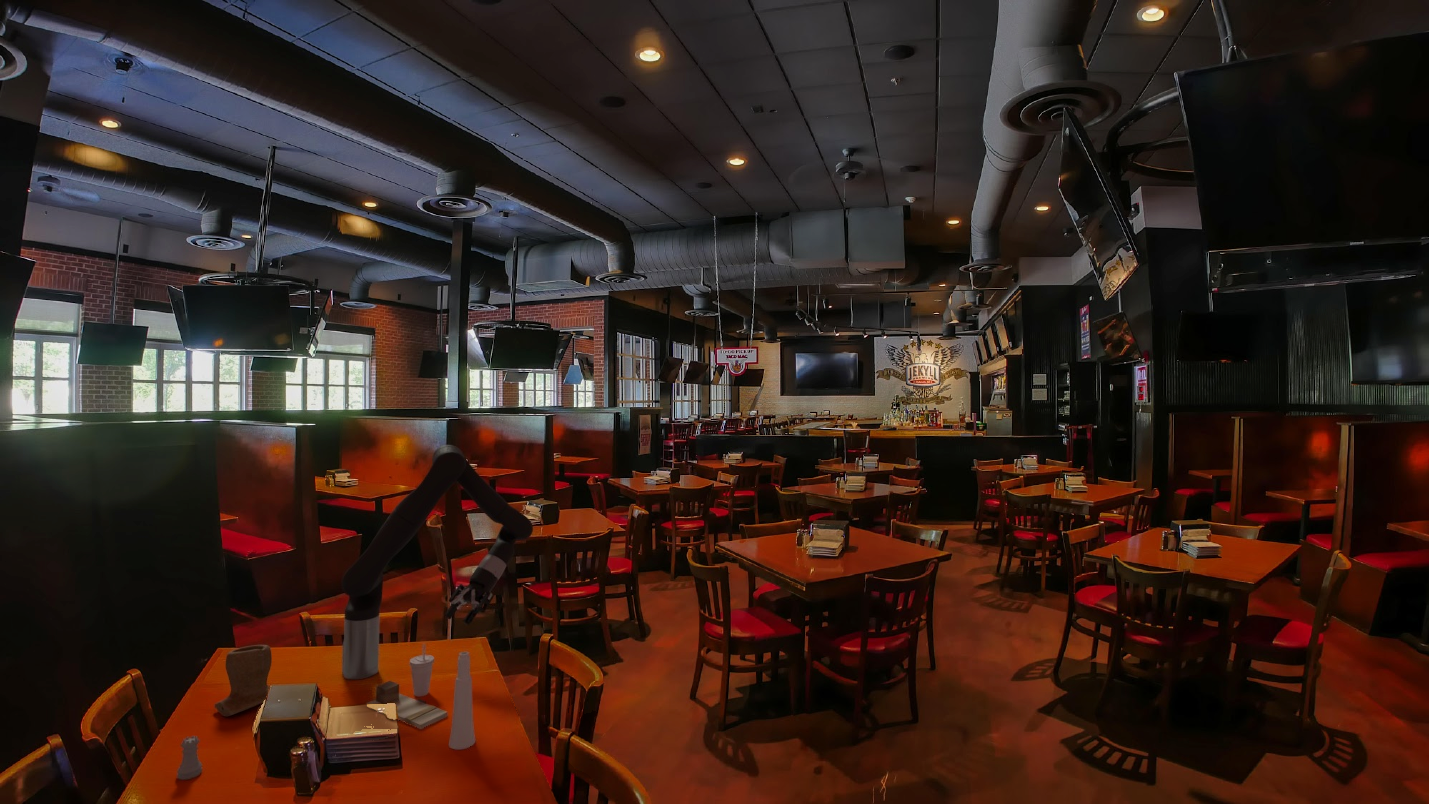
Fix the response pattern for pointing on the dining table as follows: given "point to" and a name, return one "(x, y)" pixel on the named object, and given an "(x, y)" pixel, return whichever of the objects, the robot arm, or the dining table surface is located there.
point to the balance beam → (408, 706)
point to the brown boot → (246, 678)
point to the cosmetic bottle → (462, 707)
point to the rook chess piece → (189, 759)
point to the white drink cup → (421, 673)
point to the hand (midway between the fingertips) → (456, 620)
